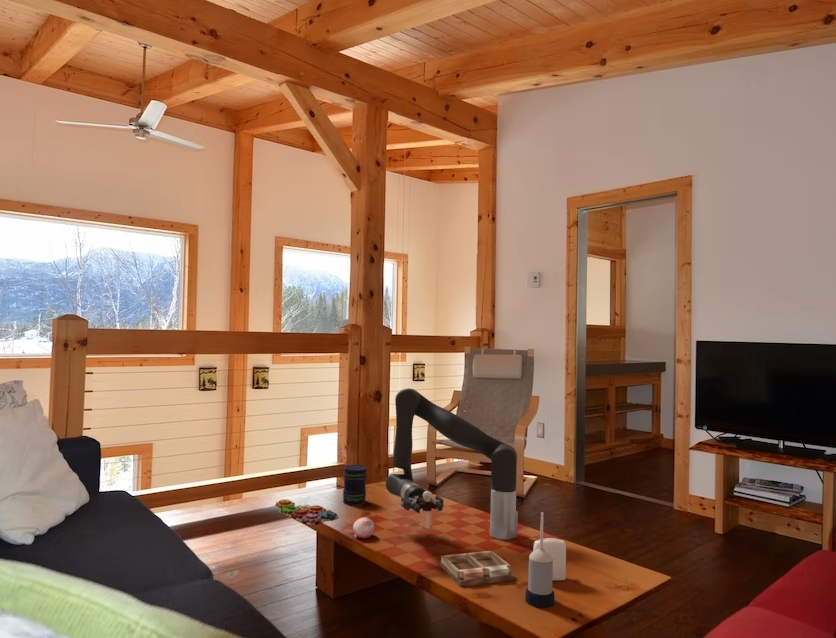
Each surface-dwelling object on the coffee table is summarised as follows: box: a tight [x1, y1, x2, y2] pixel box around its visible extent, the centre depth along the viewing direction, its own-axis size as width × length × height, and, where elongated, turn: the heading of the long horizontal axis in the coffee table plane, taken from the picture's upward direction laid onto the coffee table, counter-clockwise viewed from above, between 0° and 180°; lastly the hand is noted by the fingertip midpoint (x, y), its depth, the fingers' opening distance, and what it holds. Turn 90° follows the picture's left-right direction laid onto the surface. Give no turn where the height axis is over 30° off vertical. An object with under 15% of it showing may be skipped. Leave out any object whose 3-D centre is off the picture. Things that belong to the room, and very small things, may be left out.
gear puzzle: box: [275, 499, 340, 526], centre depth 249 cm, size 31×16×4 cm, turn 45°
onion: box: [352, 516, 375, 540], centre depth 223 cm, size 8×8×7 cm
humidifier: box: [524, 512, 555, 609], centre depth 174 cm, size 8×8×25 cm
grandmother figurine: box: [415, 490, 440, 531], centre depth 204 cm, size 8×4×13 cm, turn 105°
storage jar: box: [342, 464, 367, 506], centre depth 266 cm, size 10×10×15 cm
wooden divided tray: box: [439, 550, 515, 588], centre depth 193 cm, size 18×16×4 cm
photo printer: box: [532, 537, 567, 581], centre depth 190 cm, size 10×4×12 cm, turn 96°
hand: (430, 509), depth 202 cm, fingers closed on grandmother figurine, 7 cm apart
